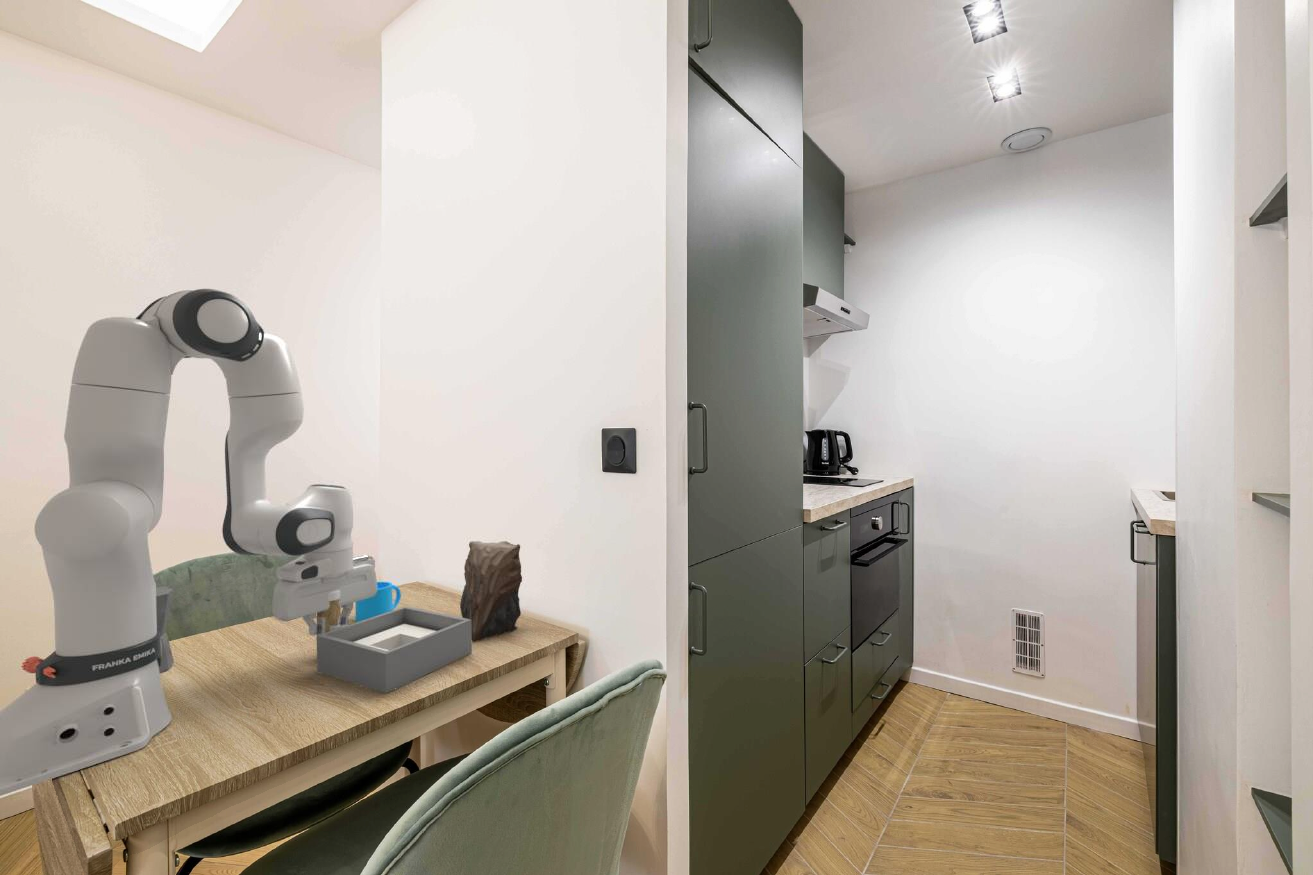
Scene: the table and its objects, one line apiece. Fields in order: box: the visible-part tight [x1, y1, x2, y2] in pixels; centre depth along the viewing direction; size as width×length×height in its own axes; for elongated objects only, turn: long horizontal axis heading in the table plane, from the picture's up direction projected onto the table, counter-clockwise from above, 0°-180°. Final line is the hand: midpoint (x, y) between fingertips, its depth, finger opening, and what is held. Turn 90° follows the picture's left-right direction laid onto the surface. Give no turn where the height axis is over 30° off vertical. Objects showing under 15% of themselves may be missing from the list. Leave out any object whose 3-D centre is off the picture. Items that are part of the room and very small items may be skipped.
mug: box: [354, 581, 402, 623], centre depth 140 cm, size 12×8×8 cm
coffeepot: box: [156, 586, 175, 674], centre depth 107 cm, size 15×9×18 cm, turn 6°
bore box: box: [316, 605, 473, 694], centre depth 112 cm, size 20×20×7 cm
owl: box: [459, 540, 523, 642], centre depth 130 cm, size 13×13×20 cm
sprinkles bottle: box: [315, 590, 341, 636], centre depth 115 cm, size 5×5×14 cm
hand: (328, 629), depth 115 cm, fingers closed on sprinkles bottle, 4 cm apart
